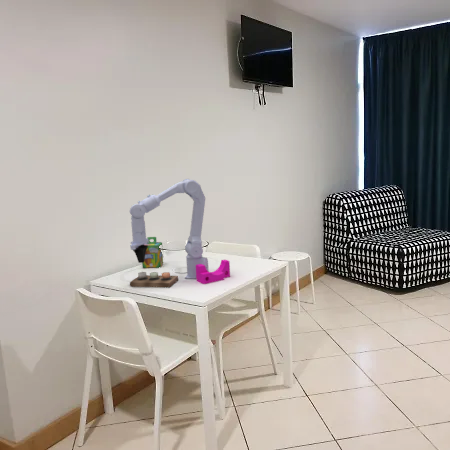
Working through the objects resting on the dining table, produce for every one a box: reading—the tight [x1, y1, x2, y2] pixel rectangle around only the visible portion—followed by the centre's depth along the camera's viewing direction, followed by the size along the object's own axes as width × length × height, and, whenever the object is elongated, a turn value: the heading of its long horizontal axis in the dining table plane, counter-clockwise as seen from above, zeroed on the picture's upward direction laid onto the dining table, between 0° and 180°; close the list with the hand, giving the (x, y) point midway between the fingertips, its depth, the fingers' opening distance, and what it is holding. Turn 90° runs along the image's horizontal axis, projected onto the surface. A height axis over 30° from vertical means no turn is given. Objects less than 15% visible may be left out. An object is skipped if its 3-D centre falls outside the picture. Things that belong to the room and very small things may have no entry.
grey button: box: [137, 271, 147, 278], centre depth 194 cm, size 4×4×2 cm
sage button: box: [149, 271, 159, 278], centre depth 193 cm, size 4×4×2 cm
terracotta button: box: [161, 272, 171, 278], centre depth 192 cm, size 4×4×2 cm
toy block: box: [195, 259, 231, 285], centre depth 195 cm, size 15×6×8 cm, turn 121°
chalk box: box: [141, 236, 164, 269], centre depth 224 cm, size 9×9×15 cm
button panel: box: [129, 274, 179, 288], centre depth 193 cm, size 18×11×2 cm, turn 77°
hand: (141, 262), depth 193 cm, fingers closed
